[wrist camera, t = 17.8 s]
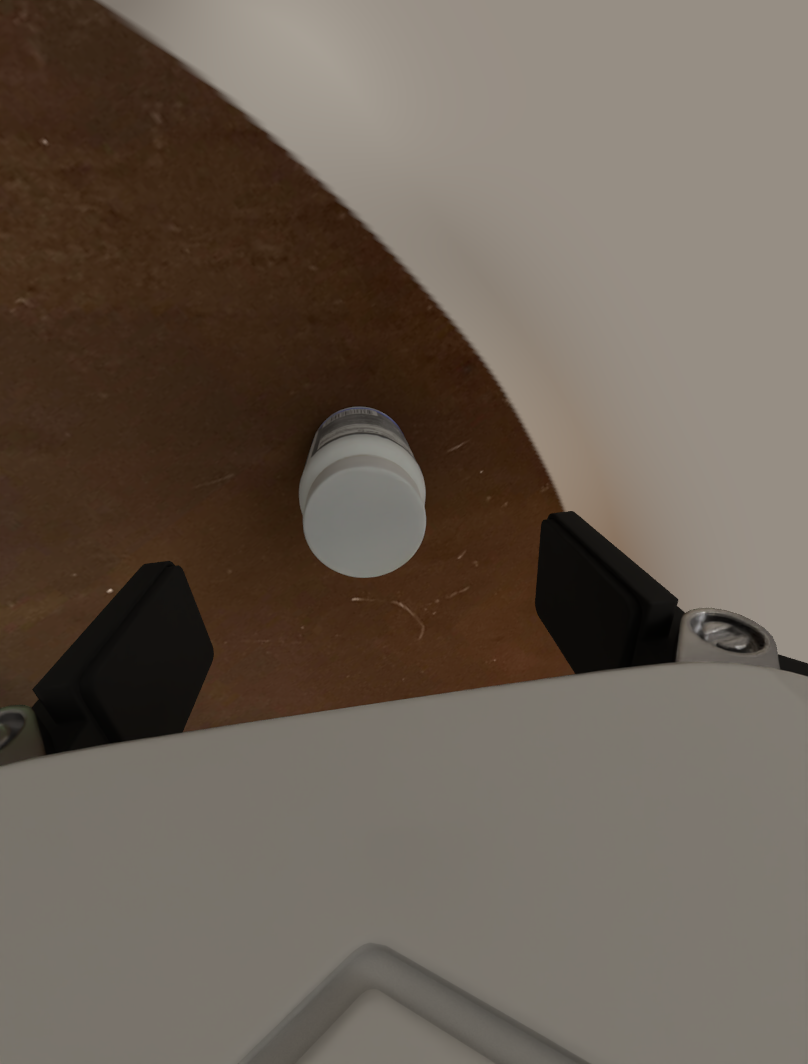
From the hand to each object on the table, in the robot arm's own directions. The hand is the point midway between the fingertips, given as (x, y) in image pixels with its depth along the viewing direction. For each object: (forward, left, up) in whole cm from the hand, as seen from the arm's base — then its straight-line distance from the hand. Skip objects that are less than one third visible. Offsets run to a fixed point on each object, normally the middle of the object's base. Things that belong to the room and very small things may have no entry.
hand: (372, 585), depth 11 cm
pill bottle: (0, 0, -11) cm, 11 cm away
